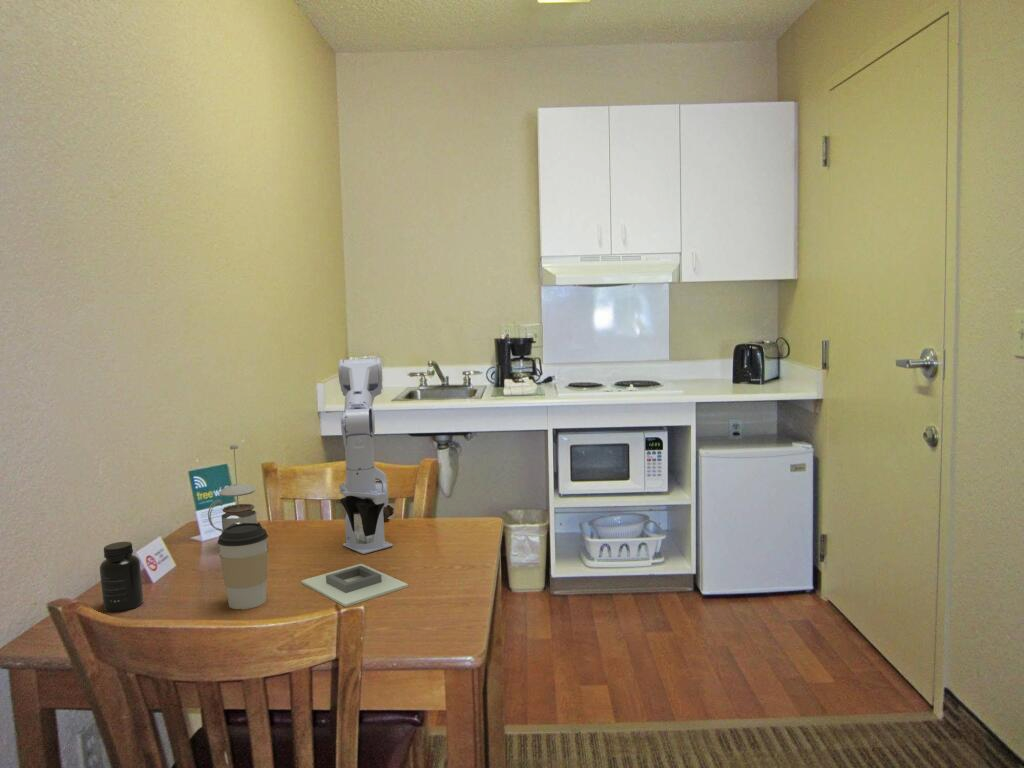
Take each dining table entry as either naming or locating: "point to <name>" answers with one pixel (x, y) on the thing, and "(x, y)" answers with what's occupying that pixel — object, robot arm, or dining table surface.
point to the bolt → (387, 512)
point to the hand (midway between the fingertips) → (363, 532)
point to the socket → (354, 584)
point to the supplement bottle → (120, 578)
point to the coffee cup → (244, 564)
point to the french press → (238, 509)
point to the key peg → (361, 531)
